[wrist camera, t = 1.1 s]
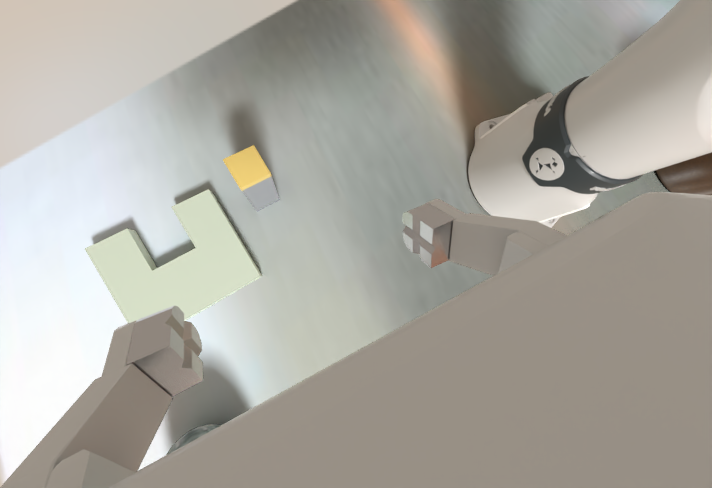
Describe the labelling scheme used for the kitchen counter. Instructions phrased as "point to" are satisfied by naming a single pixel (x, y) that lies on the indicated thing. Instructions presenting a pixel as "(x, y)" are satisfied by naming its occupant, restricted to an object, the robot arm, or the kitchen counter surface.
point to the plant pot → (689, 176)
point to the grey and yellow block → (252, 177)
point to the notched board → (177, 264)
